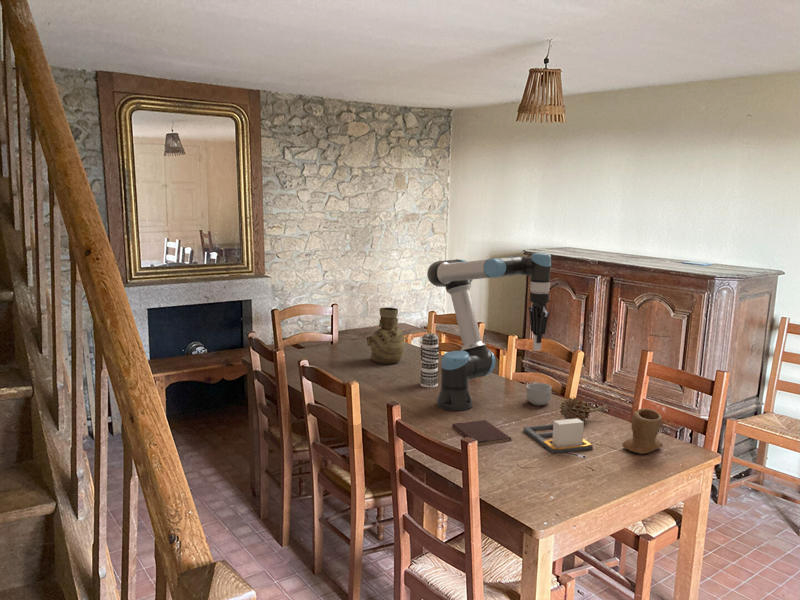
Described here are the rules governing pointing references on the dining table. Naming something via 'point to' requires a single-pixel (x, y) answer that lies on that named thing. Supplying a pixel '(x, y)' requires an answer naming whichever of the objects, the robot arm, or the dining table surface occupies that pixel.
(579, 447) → the frame
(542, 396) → the teacup
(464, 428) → the notebook
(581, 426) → the panel
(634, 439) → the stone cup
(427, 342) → the decorative candle
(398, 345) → the ceramic vessel
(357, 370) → the dining table surface
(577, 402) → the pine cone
